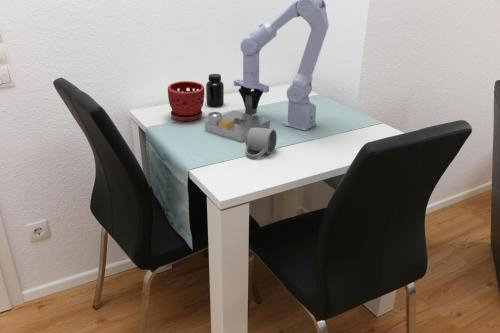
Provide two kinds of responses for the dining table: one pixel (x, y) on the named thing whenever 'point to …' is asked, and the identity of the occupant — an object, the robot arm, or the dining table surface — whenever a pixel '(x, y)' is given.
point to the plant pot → (186, 100)
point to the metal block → (249, 105)
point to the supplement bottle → (215, 91)
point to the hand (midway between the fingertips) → (251, 107)
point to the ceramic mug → (260, 141)
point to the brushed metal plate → (234, 124)
